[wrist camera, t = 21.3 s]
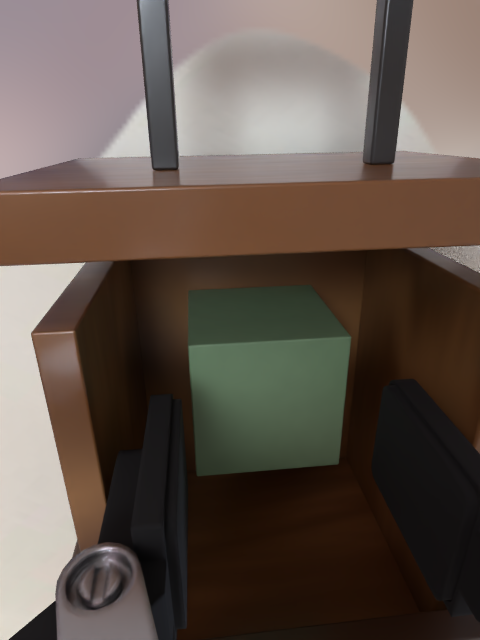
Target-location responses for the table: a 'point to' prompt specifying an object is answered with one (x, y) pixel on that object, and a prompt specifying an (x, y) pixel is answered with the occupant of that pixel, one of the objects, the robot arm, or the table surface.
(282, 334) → the block
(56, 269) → the table surface
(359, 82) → the table surface
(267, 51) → the table surface
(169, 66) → the drawer
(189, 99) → the table surface
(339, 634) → the cabinet
